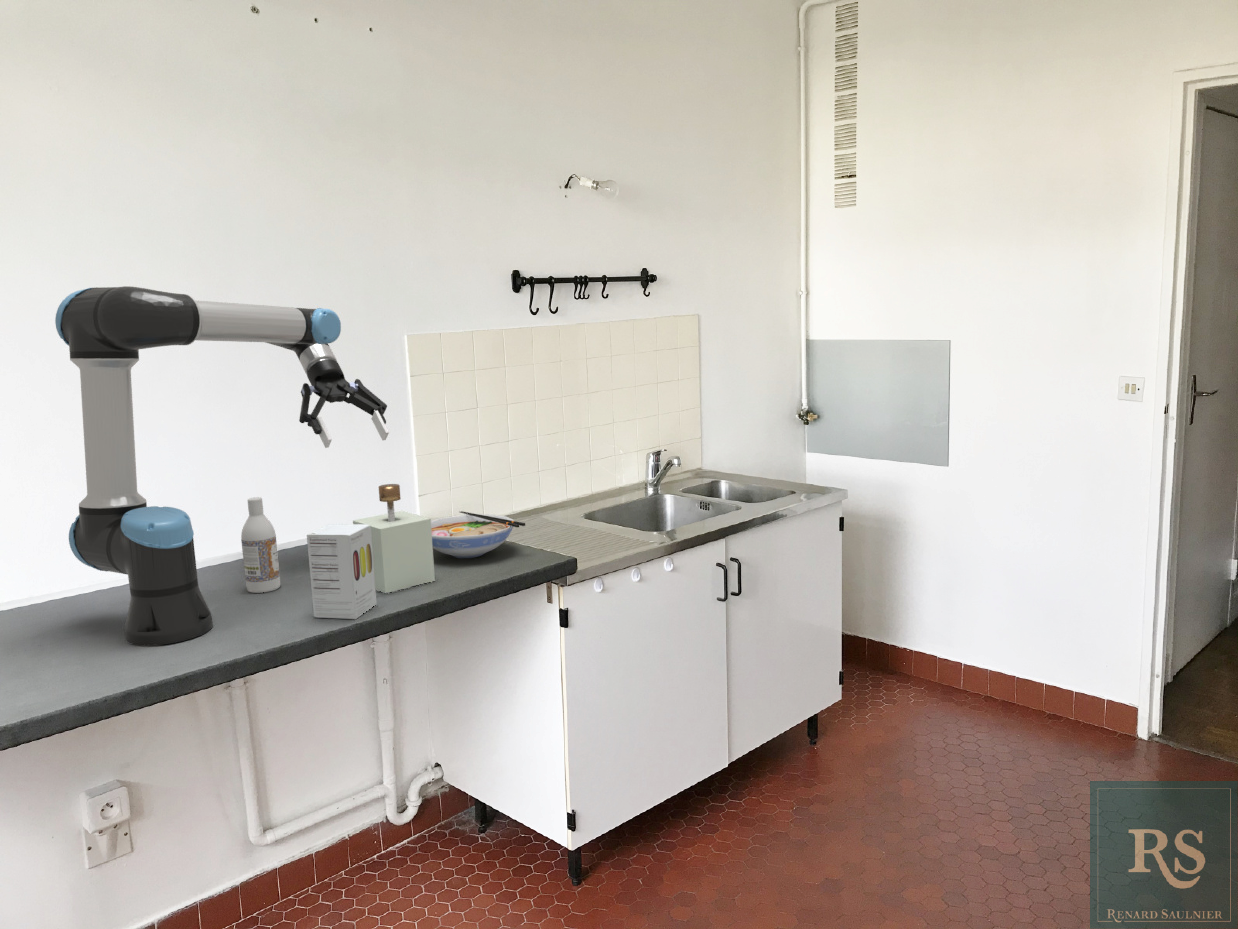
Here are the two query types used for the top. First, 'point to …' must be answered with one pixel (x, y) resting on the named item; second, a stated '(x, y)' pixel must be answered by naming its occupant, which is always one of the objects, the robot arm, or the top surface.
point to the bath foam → (259, 550)
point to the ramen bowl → (470, 533)
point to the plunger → (389, 498)
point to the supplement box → (341, 570)
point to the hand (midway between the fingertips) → (357, 440)
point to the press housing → (401, 550)
